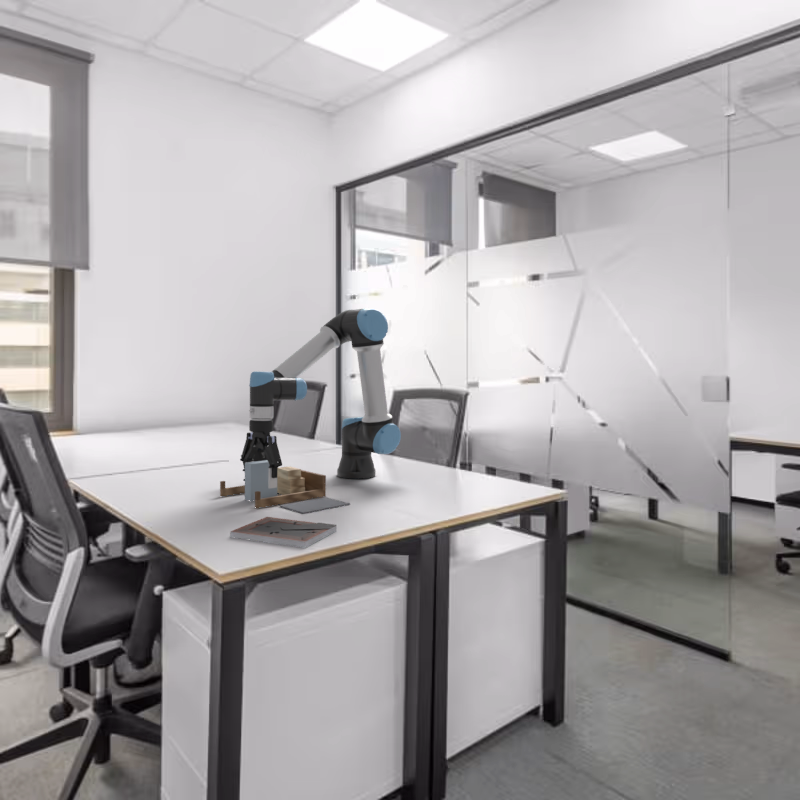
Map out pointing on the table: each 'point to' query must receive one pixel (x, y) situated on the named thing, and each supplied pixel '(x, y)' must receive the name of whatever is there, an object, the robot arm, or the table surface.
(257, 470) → the pale blue chunky brick
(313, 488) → the rack
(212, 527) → the table surface
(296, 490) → the block
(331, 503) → the mat
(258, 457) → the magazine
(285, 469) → the offcut top
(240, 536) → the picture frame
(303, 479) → the block
